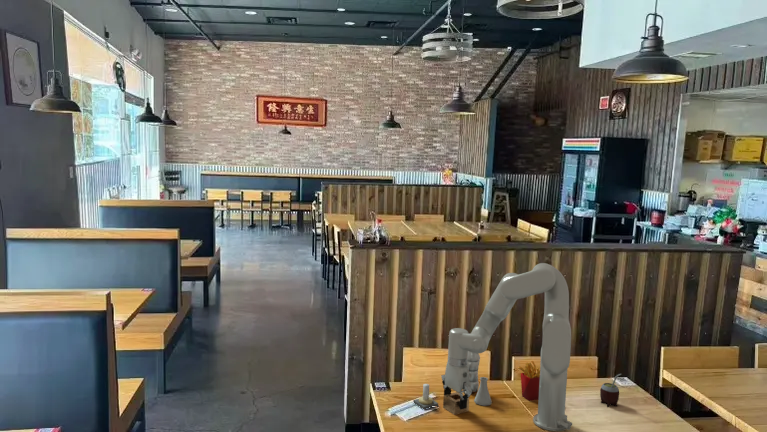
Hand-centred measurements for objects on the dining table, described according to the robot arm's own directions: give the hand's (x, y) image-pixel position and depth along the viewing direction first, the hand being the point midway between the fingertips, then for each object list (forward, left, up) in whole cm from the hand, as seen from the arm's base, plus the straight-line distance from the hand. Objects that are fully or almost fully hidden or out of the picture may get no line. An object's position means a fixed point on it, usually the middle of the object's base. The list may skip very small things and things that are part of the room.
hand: (454, 403), depth 205 cm
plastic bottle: (+11, -17, -3) cm, 20 cm away
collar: (0, 0, -2) cm, 2 cm away
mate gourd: (-26, -59, -3) cm, 65 cm away
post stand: (+9, +8, -2) cm, 12 cm away
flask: (0, -14, -3) cm, 15 cm away
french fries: (-5, -34, -3) cm, 35 cm away
